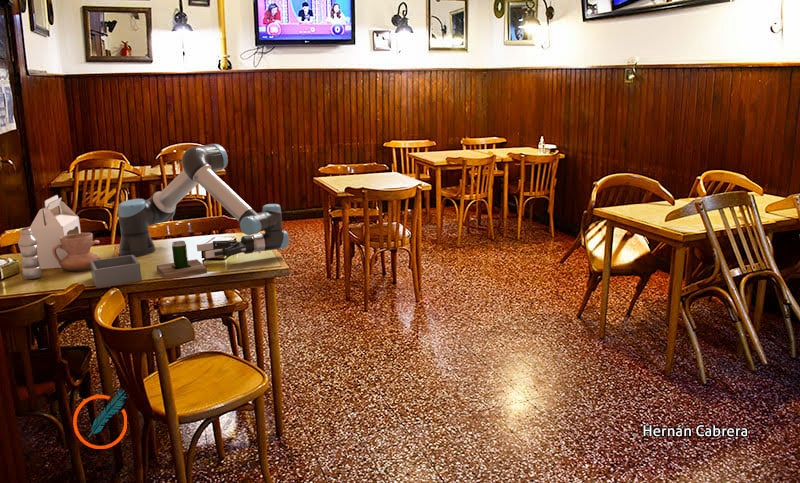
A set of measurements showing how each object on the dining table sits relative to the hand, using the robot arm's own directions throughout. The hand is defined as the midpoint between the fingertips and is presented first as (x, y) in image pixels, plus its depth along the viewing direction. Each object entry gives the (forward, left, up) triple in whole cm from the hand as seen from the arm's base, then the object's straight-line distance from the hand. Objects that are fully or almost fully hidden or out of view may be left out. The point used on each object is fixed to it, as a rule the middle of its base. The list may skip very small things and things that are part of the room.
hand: (201, 251), depth 268 cm
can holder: (0, -8, -7) cm, 11 cm away
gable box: (-47, -49, -7) cm, 69 cm away
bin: (-3, -32, -7) cm, 33 cm away
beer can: (0, -8, -7) cm, 11 cm away
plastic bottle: (-24, -60, -7) cm, 65 cm away
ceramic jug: (-29, -43, -7) cm, 53 cm away
